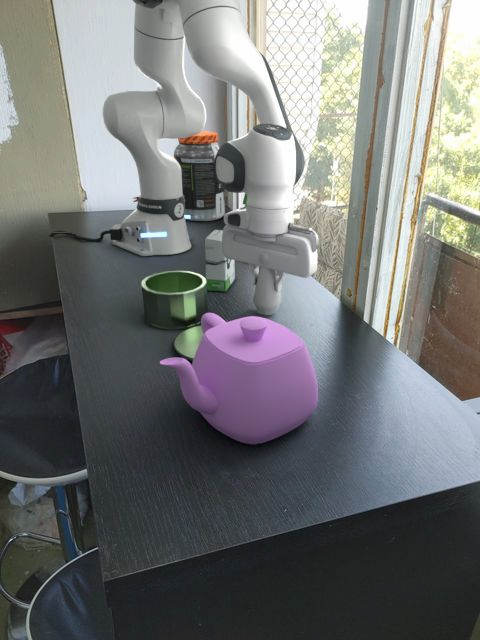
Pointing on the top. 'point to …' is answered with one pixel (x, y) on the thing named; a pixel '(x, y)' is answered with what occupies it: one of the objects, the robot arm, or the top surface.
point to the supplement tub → (200, 176)
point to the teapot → (249, 378)
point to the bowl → (174, 299)
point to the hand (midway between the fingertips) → (267, 287)
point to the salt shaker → (266, 289)
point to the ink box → (218, 264)
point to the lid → (188, 342)
